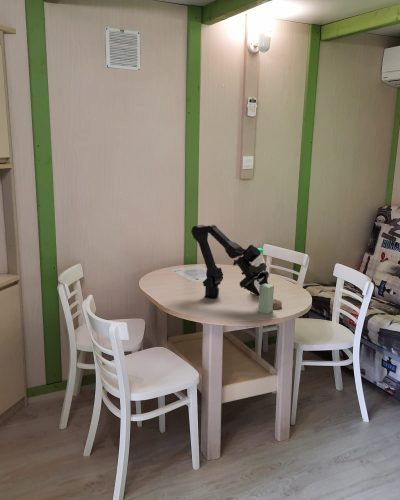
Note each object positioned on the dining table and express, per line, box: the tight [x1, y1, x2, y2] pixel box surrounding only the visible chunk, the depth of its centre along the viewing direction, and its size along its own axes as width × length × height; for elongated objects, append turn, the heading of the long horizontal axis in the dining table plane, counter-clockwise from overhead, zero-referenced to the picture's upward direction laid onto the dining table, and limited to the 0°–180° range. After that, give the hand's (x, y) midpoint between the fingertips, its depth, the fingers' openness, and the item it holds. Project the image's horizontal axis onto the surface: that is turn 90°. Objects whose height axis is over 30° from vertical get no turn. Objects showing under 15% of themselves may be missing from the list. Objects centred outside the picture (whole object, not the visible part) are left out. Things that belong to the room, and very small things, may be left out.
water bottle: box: [249, 247, 266, 296], centre depth 256 cm, size 7×7×25 cm
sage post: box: [257, 283, 275, 315], centre depth 229 cm, size 5×5×13 cm
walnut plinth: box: [273, 298, 283, 310], centre depth 237 cm, size 8×8×2 cm
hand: (264, 293), depth 229 cm, fingers open, 9 cm apart
